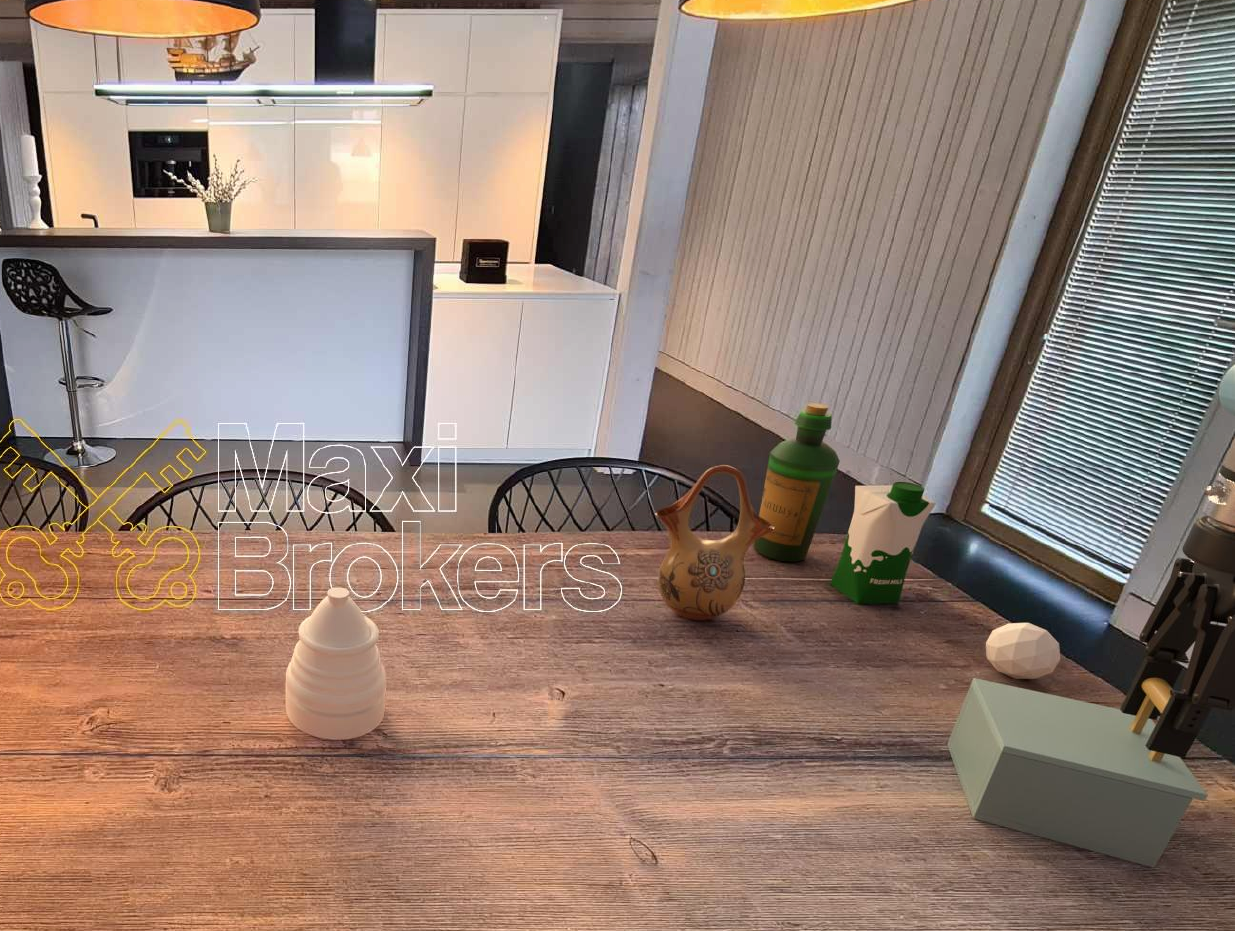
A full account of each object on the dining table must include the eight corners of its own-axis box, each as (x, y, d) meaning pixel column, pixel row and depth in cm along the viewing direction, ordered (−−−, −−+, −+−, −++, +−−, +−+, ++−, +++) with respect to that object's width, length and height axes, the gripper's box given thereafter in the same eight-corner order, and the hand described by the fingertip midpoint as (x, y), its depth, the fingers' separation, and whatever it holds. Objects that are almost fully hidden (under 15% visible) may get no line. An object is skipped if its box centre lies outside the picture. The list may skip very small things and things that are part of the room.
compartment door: (1146, 721, 88) (1174, 665, 86) (1204, 801, 77) (1239, 739, 74) (971, 683, 95) (992, 629, 92) (1001, 752, 84) (1026, 693, 81)
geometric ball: (1011, 685, 115) (1059, 645, 113) (1036, 696, 107) (1088, 654, 105) (962, 647, 117) (1008, 607, 115) (983, 656, 110) (1033, 614, 108)
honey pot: (386, 742, 98) (394, 613, 91) (281, 737, 99) (281, 609, 91) (383, 681, 110) (389, 562, 103) (289, 677, 110) (289, 559, 103)
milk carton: (856, 607, 130) (892, 492, 122) (820, 581, 138) (852, 471, 130) (908, 606, 130) (947, 491, 122) (869, 580, 138) (904, 471, 131)
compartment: (1104, 783, 92) (1136, 719, 89) (1154, 868, 81) (1193, 799, 77) (946, 744, 98) (970, 683, 95) (972, 818, 87) (1001, 752, 84)
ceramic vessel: (639, 620, 125) (669, 469, 116) (635, 594, 133) (662, 450, 124) (755, 637, 121) (796, 481, 111) (744, 609, 129) (781, 461, 119)
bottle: (734, 542, 152) (768, 398, 141) (787, 540, 154) (825, 397, 143) (770, 567, 143) (810, 414, 132) (826, 565, 144) (870, 413, 133)
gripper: (1158, 487, 83) (1073, 676, 92) (1253, 559, 68) (1139, 777, 77) (1258, 500, 80) (1160, 694, 89) (1382, 578, 64) (1248, 803, 73)
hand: (1151, 732), depth 83 cm, fingers closed on compartment door, 6 cm apart
